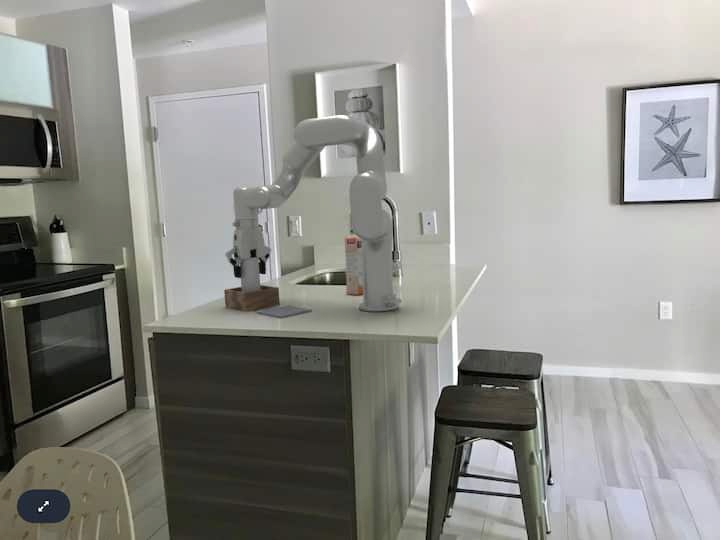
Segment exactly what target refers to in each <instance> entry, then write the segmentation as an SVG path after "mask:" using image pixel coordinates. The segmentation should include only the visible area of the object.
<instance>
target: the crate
mask: <svg viewBox="0 0 720 540" xmlns="http://www.w3.org/2000/svg"><path fill="white" fill-rule="evenodd" d="M260 289H261V290H259V291H253V292H247V293H246V292H242V289H241V286H238V287H233V288H231V287H230V288H225V289H224V303H225V308H227V307H229V308H228V309H232V308H233V309H232V310H236V311H238V310H239V311H242V312H246V313H248V312H252V311H253V312H254V311H257V310H262V309H266V308H268V309H269V308H272V307H273V308H274V307H276V306H281V303H280V290H279V287H277V286H270V285H263V284H260Z"/></svg>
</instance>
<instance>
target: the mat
mask: <svg viewBox="0 0 720 540" xmlns="http://www.w3.org/2000/svg"><path fill="white" fill-rule="evenodd" d="M312 310H313V309H310V308H306V307H300V306H293V305H289V304H288V305H283V306H279V307H273V308H270V309H269V308H268V309H266V310H259V311H257V314H258V315H264V316H268V317H273V318H277V319H278V318H279V319H284V318H288V317H292V316H297V315H302V314H307V313H311V312H313V311H312Z"/></svg>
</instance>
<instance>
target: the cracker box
mask: <svg viewBox="0 0 720 540" xmlns="http://www.w3.org/2000/svg"><path fill="white" fill-rule="evenodd" d="M344 248H345V250H344V253H345V281H346V284H345V285H346V286H345V287H346V295H350V294H352V295H351V296H353V295H354V296H360V295H363V275H362V239H360V238H359V237H358V236H357V235H354V236H348V237H346V236H345V238H344Z"/></svg>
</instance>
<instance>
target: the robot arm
mask: <svg viewBox="0 0 720 540" xmlns="http://www.w3.org/2000/svg"><path fill="white" fill-rule="evenodd" d="M293 137H294V141H293V142H292V144H290V146H289V147H288V148H287V150H286V151H285V152H284V153H283V155H282V158H281V161H282V169H281V172H280V173H279V175H277V177H276V179H275V180H274V181H273V182H272V183H271V185H258V186H254V187H252V186H241V187H236V188H234V190H233V209H234V222H232V224H231V225H232V227H235V229H234V230H233V237H232V238H233V239H232V240H233V241H232V246H233V247H232V248H231V249H230V250H228V251H226V252H225V255H224V256H225V257H226V259H227V261H228V263H229V264H230V265H231V266H233V267H232V268H233V276H234V278H236V279H241V277H242V276H241V266H240V263H241V261H242V260H247V259H250V256H251V255H250V250H253V249H256V253H257V254H256V255H257V258H258V259H259V274H260V275H266V274H267V273H266V272H267V265H266V263H267V261H268V259H269V258H270V254H271V252H272V248H270V247H268V246H266V245H265V237H264V234H263V231H262V228H261V227H259V226H260V225H259V209H260V210H269V209H277V208H280V207H281V206H282V205H283V204H285V203H286V201H288V199H289V198H290V197H291V196H292V194H293V193H294V192H295V190H296V189H297V187H299V184H300V182H301V180H302V178H303V175H304V173H306V171H307V170H308V168H309V167H310V166H311V165H312V163H313V162H314V161H315V159H316V158H317V157H318V156H319V155H320V153H322V151H323V150H324V149H325V147H329V146H338V145H339V146H340V145H344V146H347V147H348V146H349V147H354V148H355V151H356V154H355V155H356V157H355V160H356V171H357V173H356V175H355V176H354V177H353V178H352V180H351V181H350V185H349V190H348V193H349V195H348V196H349V207H350V216H351V225H352V229H353V233H354V234H355V236H358V237H359V238H360V239H362V275H363V294H362V295H363V302H360V303H359V304H358V309H359V310H360V311H364V312H386V311H393V310H396V309H398V308H399V305H400V304H402V299H401V298H398V297H397V295H396V293H394V280H393V279H394V276H393V227H394V225H393V219H392V217H391V215H390V214H389V212H387V210H385V209H384V208H383V203H382V202H383V201H382V200H384V199H385V197H386V195H387V192H388V187H387V185H388V184H387V178H386V177H387V176H386V167H385V161H384V159H385V158H384V147H383V142H382V138H381V136H380V134H379V132H378V131H377V130H376V128H375V127H374V126H372V125H371V124H369V123H368V122H365V121H363V120H361V119H358V118H356V117H353V116H350V115H346V114H338V115H337V114H336V115H331V116H323V117H316V118H308V119H304V120H302V121H300V122H299V123H298V124H297V125H296V127H295V128H294V131H293Z"/></svg>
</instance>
